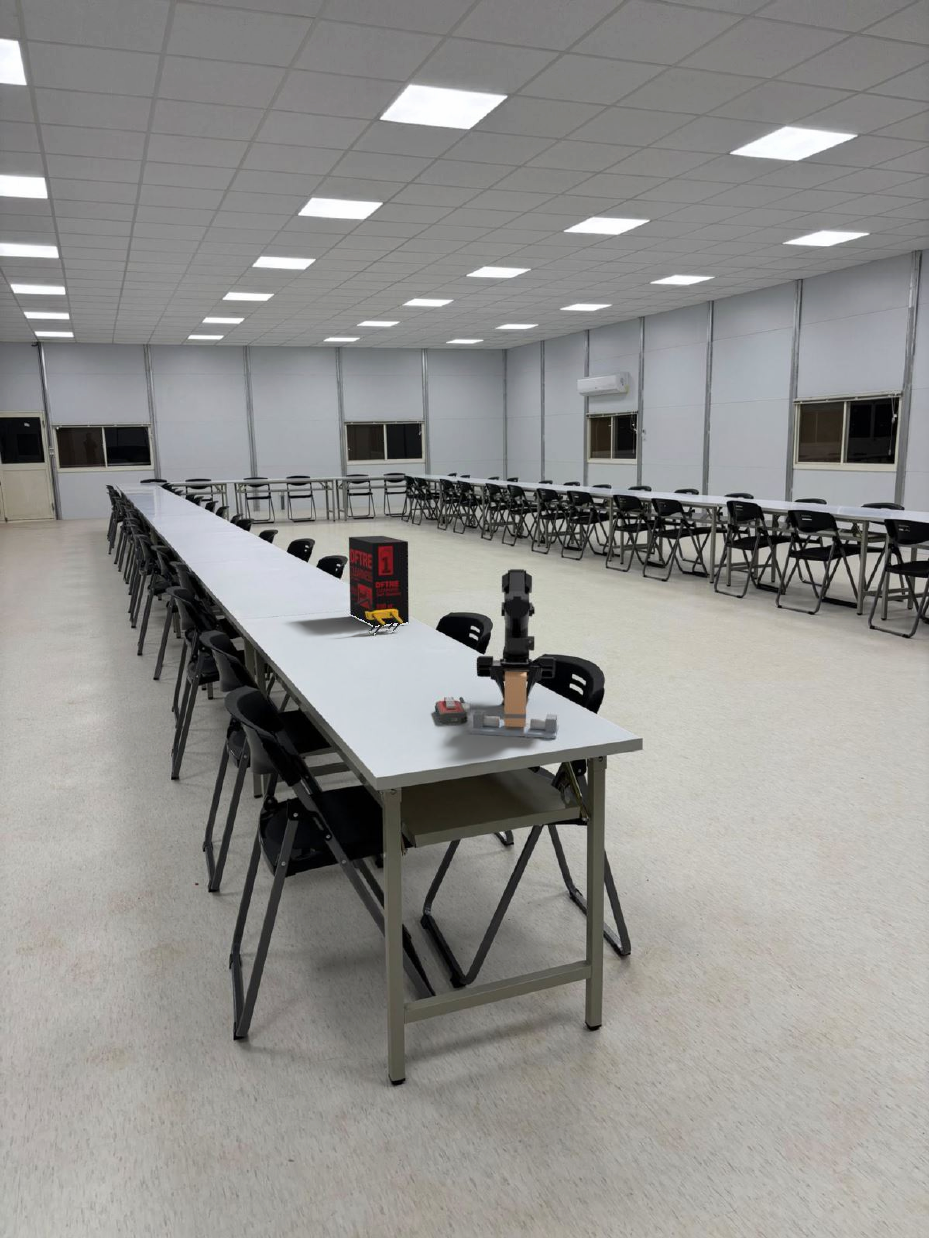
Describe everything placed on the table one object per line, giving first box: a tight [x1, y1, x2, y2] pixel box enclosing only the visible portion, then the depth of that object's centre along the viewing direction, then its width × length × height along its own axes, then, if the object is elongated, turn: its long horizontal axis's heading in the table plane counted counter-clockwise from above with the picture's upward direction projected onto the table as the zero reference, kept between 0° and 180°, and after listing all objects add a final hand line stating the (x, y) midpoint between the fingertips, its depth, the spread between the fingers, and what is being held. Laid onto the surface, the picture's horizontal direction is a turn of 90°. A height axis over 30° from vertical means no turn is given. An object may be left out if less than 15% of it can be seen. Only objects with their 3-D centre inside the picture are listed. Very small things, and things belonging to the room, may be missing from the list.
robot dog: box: [354, 598, 403, 634], centre depth 321 cm, size 6×18×13 cm, turn 120°
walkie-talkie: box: [434, 696, 471, 725], centre depth 224 cm, size 9×4×20 cm
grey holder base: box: [469, 709, 559, 739], centre depth 209 cm, size 8×20×4 cm, turn 79°
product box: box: [348, 535, 410, 626], centre depth 344 cm, size 26×14×32 cm, turn 27°
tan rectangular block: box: [503, 671, 527, 727], centre depth 208 cm, size 5×5×12 cm
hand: (515, 698), depth 207 cm, fingers closed on tan rectangular block, 5 cm apart
